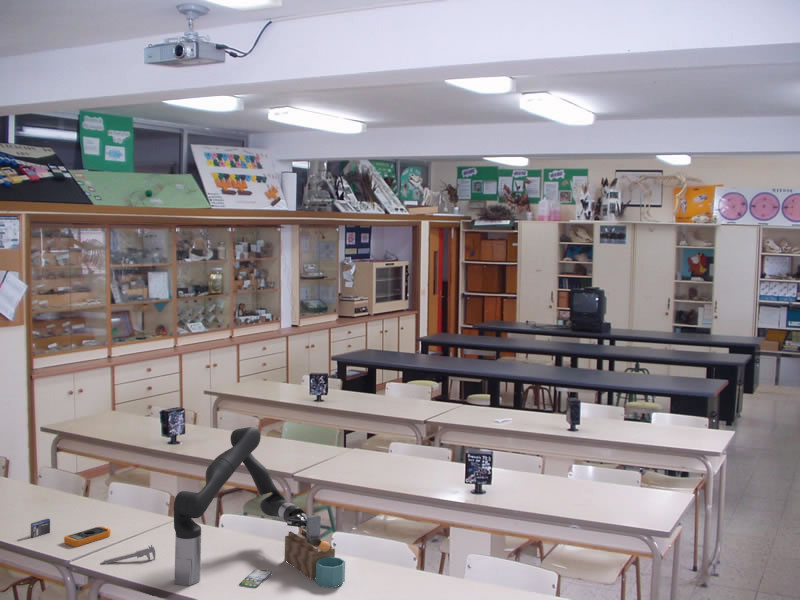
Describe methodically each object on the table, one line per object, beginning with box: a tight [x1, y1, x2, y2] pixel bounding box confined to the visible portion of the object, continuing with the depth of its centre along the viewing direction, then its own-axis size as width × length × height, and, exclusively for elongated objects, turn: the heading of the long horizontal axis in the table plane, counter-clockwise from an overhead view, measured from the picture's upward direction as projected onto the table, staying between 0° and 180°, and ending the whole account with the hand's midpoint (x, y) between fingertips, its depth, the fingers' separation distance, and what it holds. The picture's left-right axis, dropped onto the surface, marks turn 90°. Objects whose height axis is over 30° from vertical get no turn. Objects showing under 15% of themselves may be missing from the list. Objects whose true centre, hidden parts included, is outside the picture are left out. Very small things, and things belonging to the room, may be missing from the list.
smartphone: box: [238, 568, 273, 589], centre depth 301 cm, size 7×1×15 cm
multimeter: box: [63, 526, 111, 548], centre depth 336 cm, size 9×18×3 cm, turn 146°
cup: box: [315, 556, 346, 588], centre depth 301 cm, size 10×10×8 cm
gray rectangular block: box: [305, 514, 322, 546], centre depth 311 cm, size 3×5×11 cm, turn 126°
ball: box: [319, 540, 331, 552], centre depth 304 cm, size 4×4×4 cm
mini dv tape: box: [30, 518, 51, 539], centre depth 340 cm, size 8×2×6 cm, turn 150°
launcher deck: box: [283, 528, 336, 580], centre depth 314 cm, size 22×10×12 cm, turn 36°
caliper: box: [100, 544, 156, 565], centre depth 314 cm, size 20×1×6 cm, turn 108°
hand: (312, 526), depth 312 cm, fingers closed
